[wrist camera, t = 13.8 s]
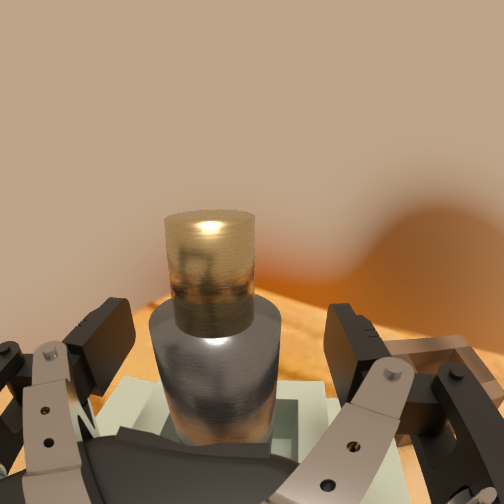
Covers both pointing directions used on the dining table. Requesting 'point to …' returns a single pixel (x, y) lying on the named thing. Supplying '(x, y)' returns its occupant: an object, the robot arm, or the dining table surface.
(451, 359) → the socket block
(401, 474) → the board
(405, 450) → the dining table surface
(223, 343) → the stepped metal cylinder
